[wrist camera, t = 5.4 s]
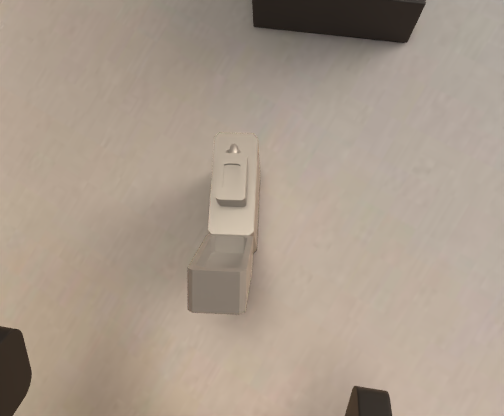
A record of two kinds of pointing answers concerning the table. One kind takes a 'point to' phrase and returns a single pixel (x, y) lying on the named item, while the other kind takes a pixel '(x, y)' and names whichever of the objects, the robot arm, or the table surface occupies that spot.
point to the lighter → (228, 229)
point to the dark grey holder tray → (341, 17)
